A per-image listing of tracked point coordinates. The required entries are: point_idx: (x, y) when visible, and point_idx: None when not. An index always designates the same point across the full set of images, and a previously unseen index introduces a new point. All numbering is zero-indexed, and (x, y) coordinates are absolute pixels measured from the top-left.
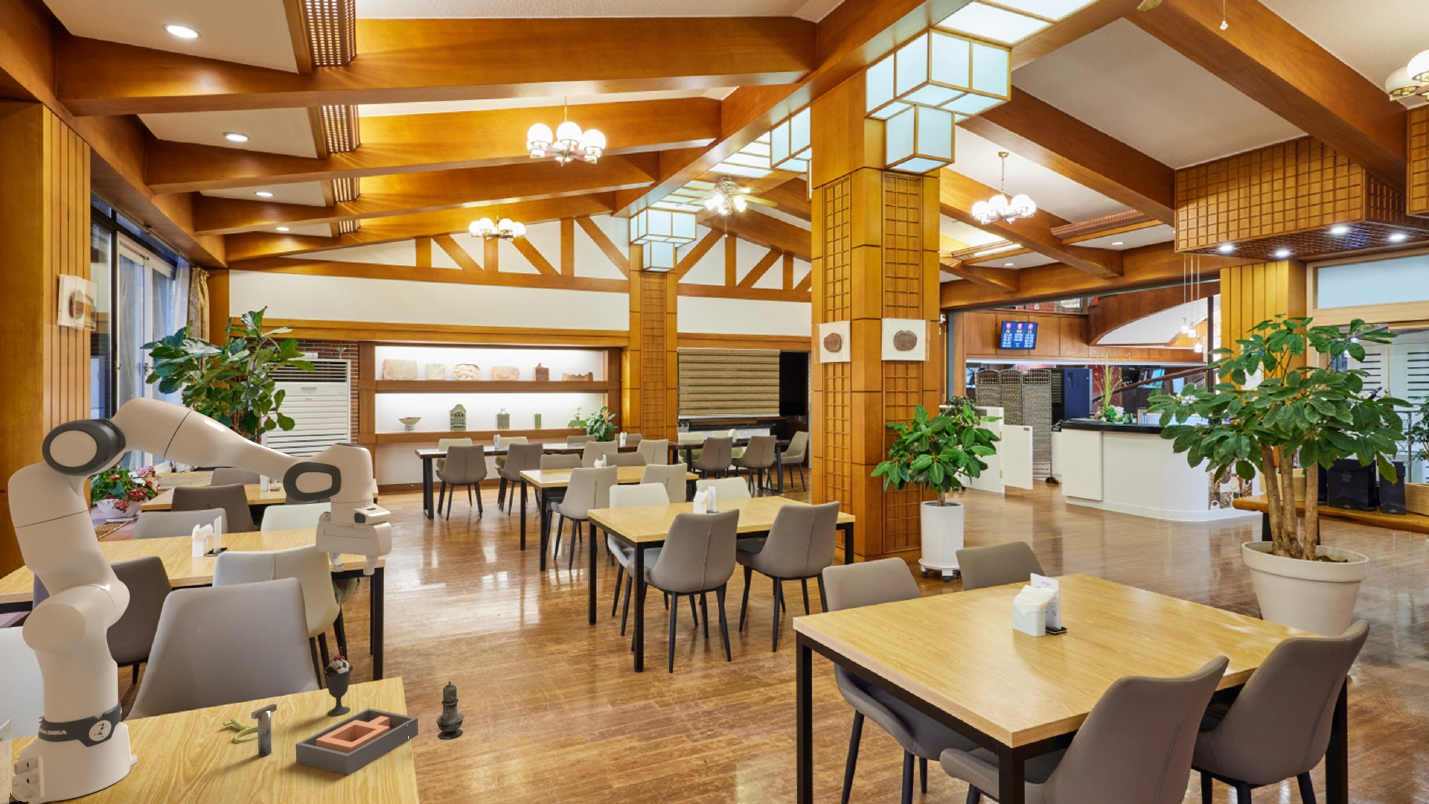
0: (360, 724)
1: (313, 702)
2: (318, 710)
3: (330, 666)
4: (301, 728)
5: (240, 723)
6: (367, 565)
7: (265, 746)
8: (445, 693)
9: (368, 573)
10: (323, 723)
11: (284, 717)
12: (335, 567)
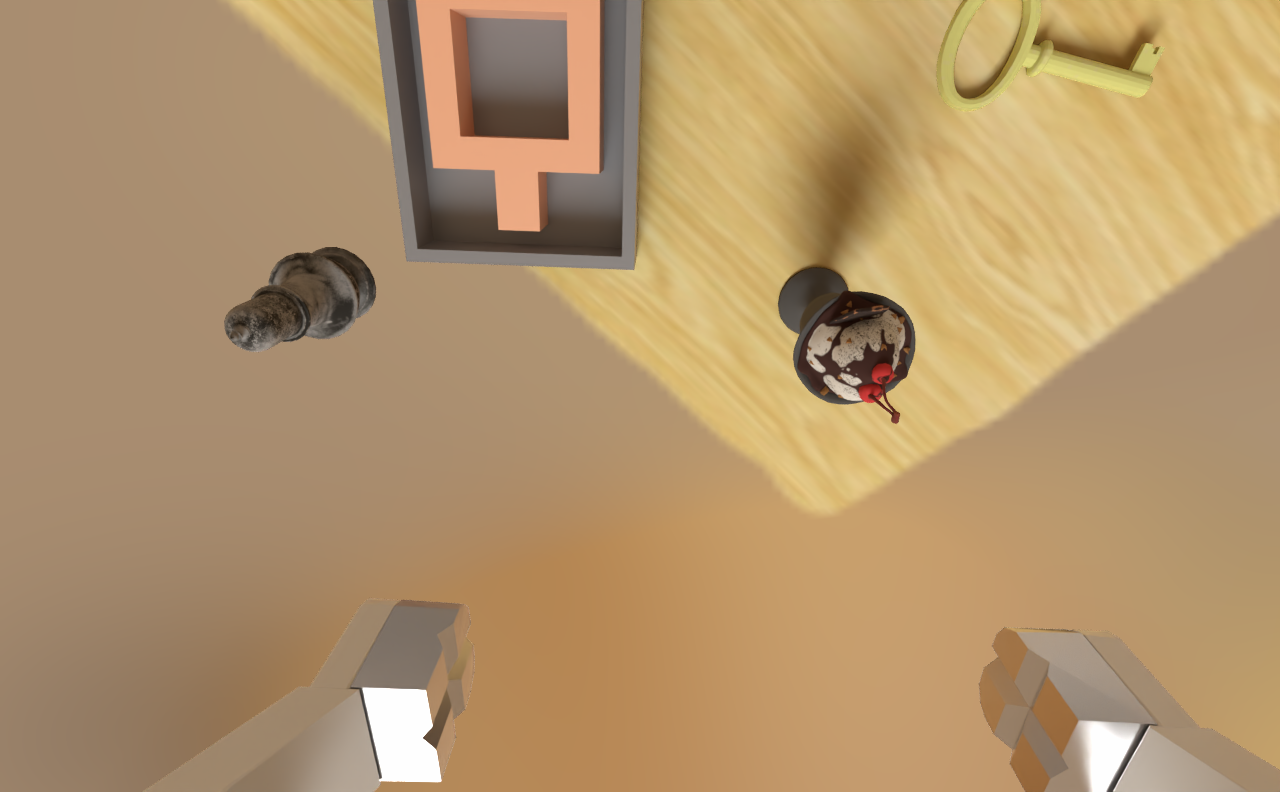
0: (549, 147)
1: (958, 332)
2: (892, 289)
3: (857, 310)
4: (843, 157)
5: (1085, 68)
6: (290, 723)
7: None
8: (249, 302)
9: (356, 614)
10: (796, 215)
11: (974, 207)
12: (1095, 679)
